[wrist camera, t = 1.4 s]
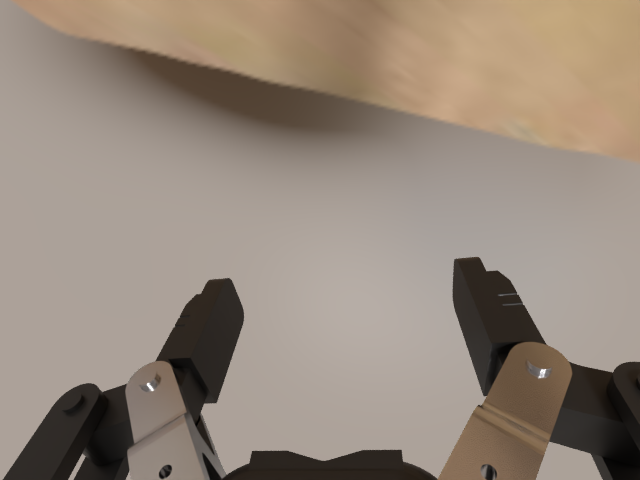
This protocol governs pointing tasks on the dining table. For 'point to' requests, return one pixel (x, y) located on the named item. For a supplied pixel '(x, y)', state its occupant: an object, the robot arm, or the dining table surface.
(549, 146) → the dining table surface
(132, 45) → the dining table surface
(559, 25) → the dining table surface
